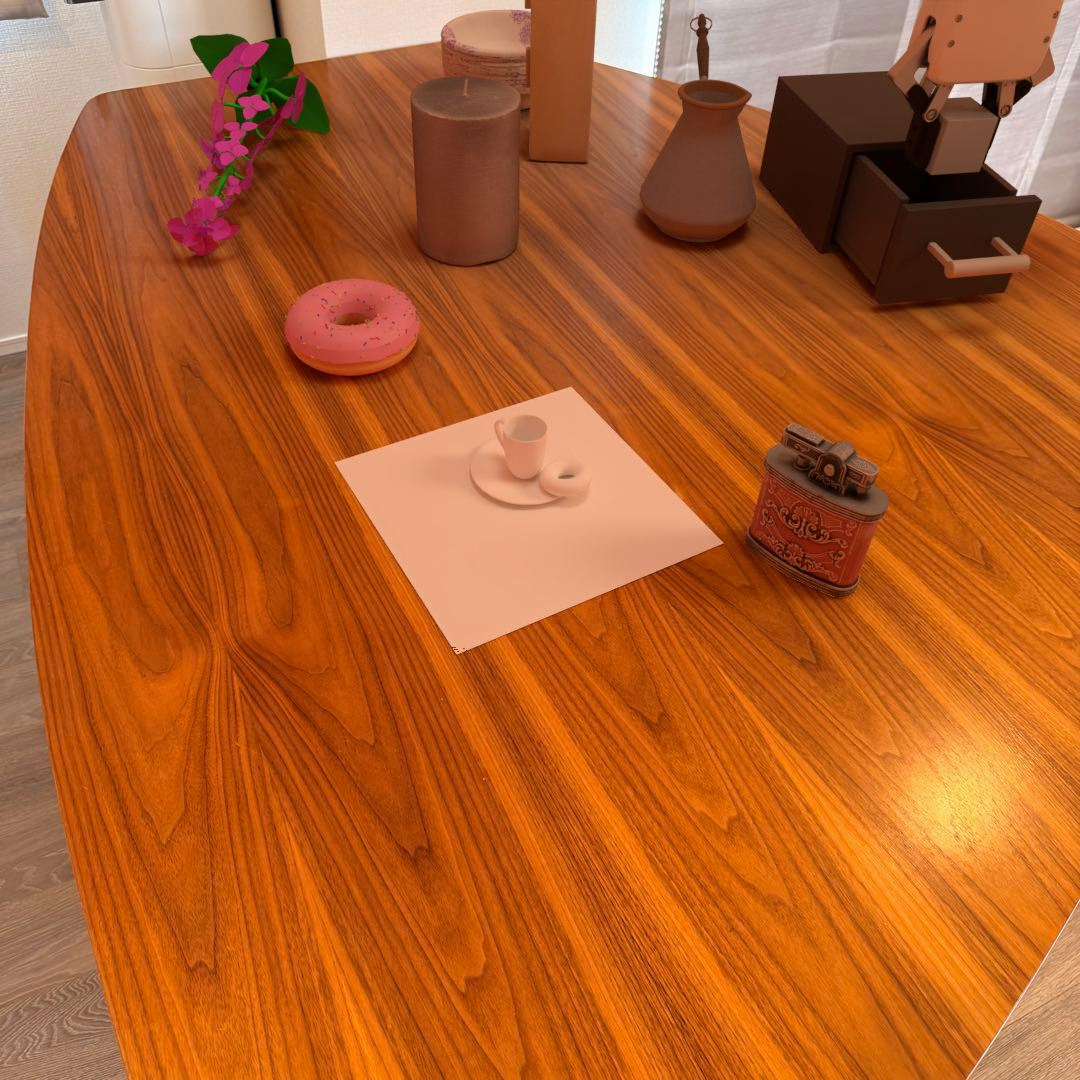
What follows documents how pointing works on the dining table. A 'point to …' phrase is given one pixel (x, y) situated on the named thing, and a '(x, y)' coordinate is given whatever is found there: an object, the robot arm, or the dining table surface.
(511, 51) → the paper bowls
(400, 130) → the dining table surface
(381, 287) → the doughnut
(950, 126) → the block
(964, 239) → the drawer
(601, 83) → the dining table surface
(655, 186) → the coffee pot
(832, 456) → the lighter
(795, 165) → the dark brown boxy casing
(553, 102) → the toy refrigerator
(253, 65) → the pink flower sprig
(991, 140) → the robot arm
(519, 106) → the pillar candle
